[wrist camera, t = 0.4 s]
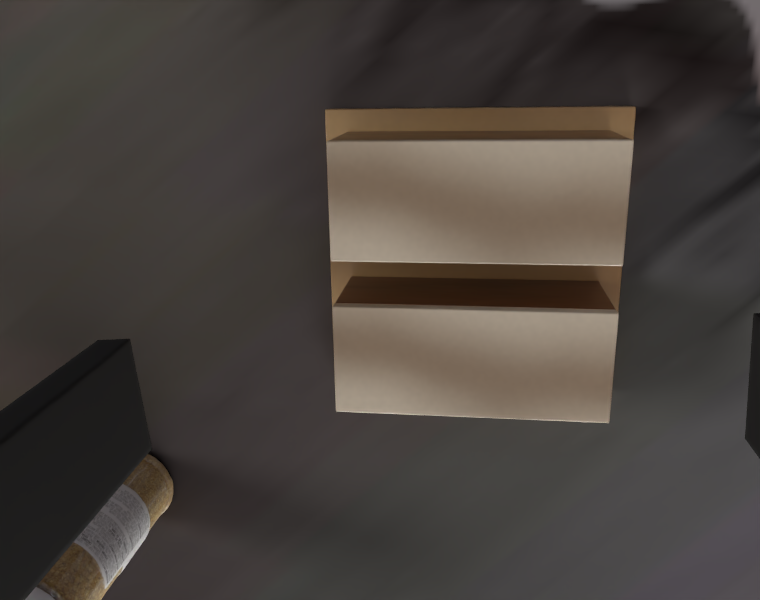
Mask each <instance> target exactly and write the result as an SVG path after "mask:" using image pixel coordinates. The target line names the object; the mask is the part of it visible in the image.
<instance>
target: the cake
mask: <svg viewBox="0 0 760 600" xmlns="http://www.w3.org/2000/svg"><path fill="white" fill-rule="evenodd" d="M635 114H636V107H634V106H552V107H445V108H339V109H326V110H325V121H326V149H327V176H328V204H329V232H330V260H331V288H332V316H333V343H334V371H335V397H336V411H339V412H363V413H386V414H410V415H434V416H457V417H481V418H505V419H529V420H552V421H576V422H600V423H609V420H610V409H611V397H612V386H613V375H614V363H615V352H616V340H617V329H618V318H619V314H618V308H619V297H620V285H621V274H622V266H623V260H624V249H625V238H626V226H627V215H628V203H629V192H630V181H631V169H632V158H633V146H634V140H633V137H634V125H635Z"/></svg>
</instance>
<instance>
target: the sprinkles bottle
mask: <svg viewBox="0 0 760 600" xmlns="http://www.w3.org/2000/svg"><path fill="white" fill-rule="evenodd" d="M172 497H173V481H172V478H171V477H170V475H169V473H168V471H167V469H166V468H165V467H164V465H163V464H162V463H161V462H159V461H158V460H157V459H156V458H155V457H153V456H151V455H149V454H147V455H146V457H145V458H144V459H143V460H142V461H141V463H140V464H139V465H138V466H137V467H136V468H135V470H134V471H133V472H132V473H131V474H130V476H129V477H128V478H127V479H126V480H125V482H124V483H123V484H122V485H121V486H120V487H119V489H118V490H117V491H116V492H115V493H114V495H113V496H112V497H111V498H110V499H109V501H108V502H107V503H106V504H105V505H104V507H103V508H102V509H101V510H100V511H99V512H98V514H97V515H96V516H95V517H94V518H93V520H92V521H91V522H90V523H89V524H88V526H87V527H86V528H85V529H84V530H83V531H82V533H81V534H80V535H79V536H78V537H77V539H76V540H75V541H74V542H73V543H72V545H71V546H70V547H69V548H68V549H67V550H66V552H65V553H64V554H63V555H62V556H61V558H60V559H59V560H58V561H57V562H56V564H55V565H54V566H53V567H52V568H51V569H50V571H49V572H48V573H47V574H46V575H45V577H44V578H43V579H42V580H41V581H40V583H39V584H38V585H37V586H36V587H35V589H34V590H33V591H32V592H31V593H30V594H29V596H28V597H27V598H26V599H25V600H101V599H102V597H103V596H104V594H105V593H106V591H107V590H108V589H109V587H110V586H111V585H112V583H113V582H114V580H115V579H116V578H117V577H118V575H119V574H121V572H122V571H123V570H124V568H125V567H126V565H127V564H128V562H129V561H130V559H131V558H132V557H133V555H134V554H135V552H136V551H137V550H138V548H139V547H140V545H141V544H142V543H143V541H144V540H145V538H146V536H147V534H148V532H149V530H150V529H151V527H152V526H153V525H154V523H155V522H156V520H157V519H158V518H159V516H160V515H161V514H163V513H164V512H165V511H166V510H167V509H168V507H169V505H170V503H171V501H172Z"/></svg>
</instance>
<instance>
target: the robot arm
mask: <svg viewBox="0 0 760 600" xmlns="http://www.w3.org/2000/svg"><path fill="white" fill-rule="evenodd" d="M745 439H746V440H747V442H748V443H749V445H750V446H751V447H752V449H753V450H754V451H755V453H756V454H757V456H758V457H759V458H760V313H756V314H754V315H753V330H752V344H751V359H750V373H749V388H748V402H747V417H746V432H745ZM151 449H152V447H151V442H150V437H149V432H148V427H147V422H146V417H145V412H144V407H143V402H142V397H141V392H140V387H139V382H138V377H137V372H136V367H135V362H134V357H133V352H132V347H131V342H130V339H116V340H97V341H96V342H95V343H93V344H92V345H91V346H89V347H88V348H87V349H85V350H84V351H82V352H81V353H80V354H78V355H77V356H76V357H74V358H73V359H71V360H70V361H69V362H67V363H66V364H65V365H63V366H62V367H60V368H59V369H58V370H56V371H55V372H54V373H52V374H51V375H49V376H48V377H47V378H45V379H44V380H43V381H41V382H40V383H38V384H37V385H36V386H34V387H33V388H32V389H30V390H29V391H27V392H26V393H25V394H23V395H22V396H21V397H19V398H18V399H16V400H15V401H14V402H12V403H11V404H10V405H8V406H7V407H5V408H4V409H3V410H1V411H0V600H25V599H26V598H27V597H28V596H29V594H30V593H31V592H32V591H33V590H34V589H35V587H36V586H37V585H38V584H39V583H40V581H41V580H42V579H43V578H44V577H45V575H46V574H47V573H48V572H49V571H50V569H51V568H52V567H53V566H54V565H55V564H56V562H57V561H58V560H59V559H60V558H61V556H62V555H63V554H64V553H65V552H66V550H67V549H68V548H69V547H70V546H71V545H72V543H73V542H74V541H75V540H76V539H77V537H78V536H79V535H80V534H81V533H82V531H83V530H84V529H85V528H86V527H87V526H88V524H89V523H90V522H91V521H92V520H93V518H94V517H95V516H96V515H97V514H98V512H99V511H100V510H101V509H102V508H103V507H104V505H105V504H106V503H107V502H108V501H109V499H110V498H111V497H112V496H113V495H114V493H115V492H116V491H117V490H118V489H119V487H120V486H121V485H122V484H123V483H124V482H125V480H126V479H127V478H128V477H129V476H130V474H131V473H132V472H133V471H134V470H135V468H136V467H137V466H138V465H139V464H140V463H141V461H142V460H143V459H144V458H145V457H146V455H147V454H148V453H149V452H150V451H151Z"/></svg>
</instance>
